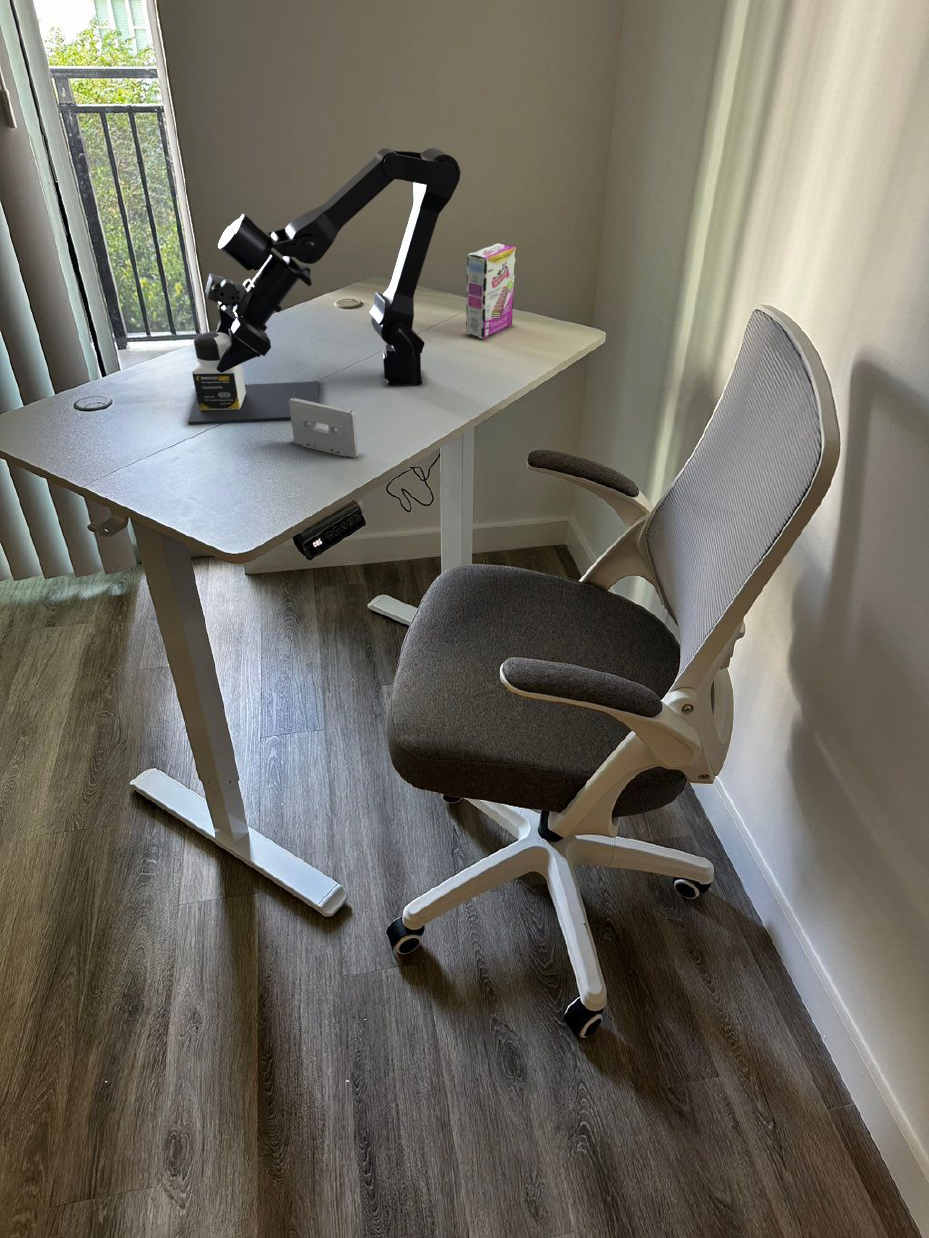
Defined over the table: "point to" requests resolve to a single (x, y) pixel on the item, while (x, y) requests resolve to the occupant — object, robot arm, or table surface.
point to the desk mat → (259, 404)
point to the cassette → (330, 439)
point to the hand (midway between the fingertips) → (214, 361)
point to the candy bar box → (490, 290)
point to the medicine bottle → (216, 375)
